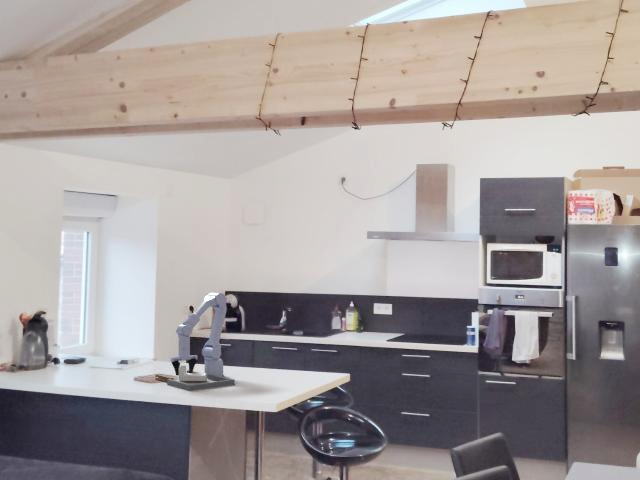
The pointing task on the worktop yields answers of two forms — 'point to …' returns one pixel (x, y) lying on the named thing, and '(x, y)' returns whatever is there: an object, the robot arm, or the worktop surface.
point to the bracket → (190, 375)
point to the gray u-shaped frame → (219, 382)
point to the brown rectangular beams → (164, 378)
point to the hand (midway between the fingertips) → (184, 374)
